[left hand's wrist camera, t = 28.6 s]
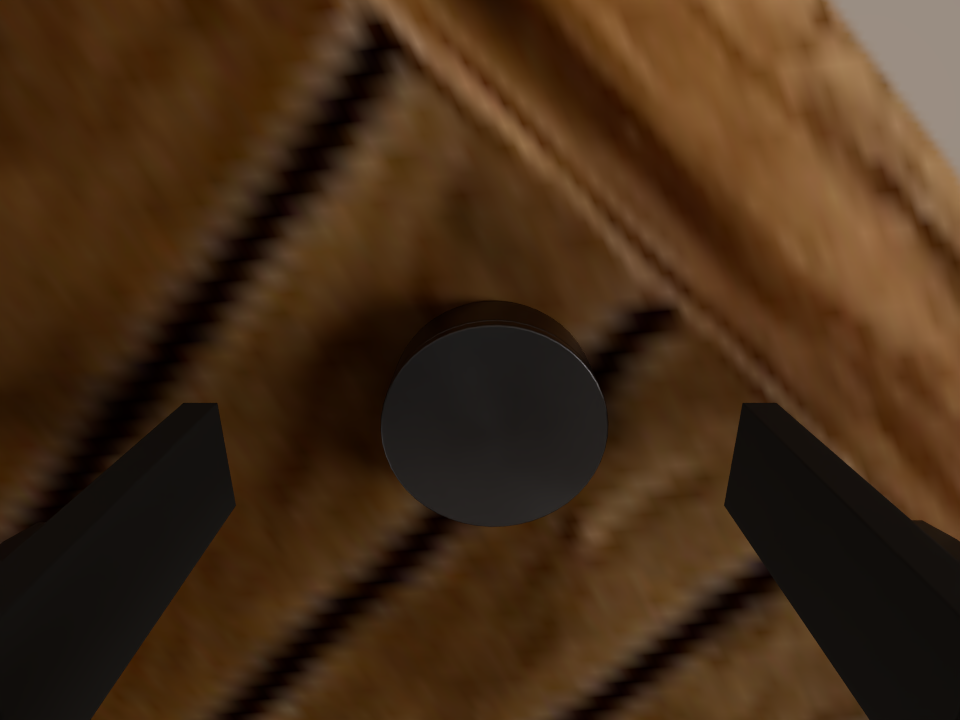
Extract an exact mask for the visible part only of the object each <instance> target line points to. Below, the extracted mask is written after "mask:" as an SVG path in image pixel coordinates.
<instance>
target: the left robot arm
mask: <svg viewBox="0 0 960 720" xmlns="http://www.w3.org/2000/svg"><path fill="white" fill-rule="evenodd" d="M235 506H236V504H235V498H234V493H233V487H232V482H231V476H230V471H229V465H228V460H227V454H226V449H225V443H224V438H223V432H222V427H221V421H220V416H219V410H218V405H217V403H183V404H182V405H181V406H180V407H178V408H177V409H176V410H175V411H174V412H173V413H171V414H170V415H169V416H168V417H167V418H166V419H165V420H163V421H162V422H161V423H160V424H159V425H158V426H157V427H155V428H154V429H153V430H152V431H151V432H150V433H148V434H147V435H146V436H145V437H144V438H143V439H142V440H140V441H139V442H138V443H137V444H136V445H135V446H133V447H132V448H131V449H130V450H129V451H128V452H127V453H125V454H124V455H123V456H122V457H121V458H120V459H119V460H117V461H116V462H115V463H114V464H113V465H112V466H110V467H109V468H108V469H107V470H106V471H105V472H104V473H102V474H101V475H100V476H99V477H98V478H97V479H95V480H94V481H93V482H92V483H91V484H90V485H89V486H87V487H86V488H85V489H84V490H83V491H82V492H81V493H79V494H78V495H77V496H76V497H75V498H74V499H72V500H71V501H70V502H69V503H68V504H67V505H66V506H64V507H63V508H62V509H61V510H60V511H59V512H57V513H56V514H55V515H54V516H53V517H52V518H51V519H49V520H48V521H47V522H38V523H36V524H35V525H33V526H31V527H29V528H27V529H26V530H24V531H22V532H20V533H18V534H16V535H15V536H13V537H11V538H9V539H7V540H6V541H4V542H3V543H1V544H0V720H90V719H91V718H92V717H93V715H94V714H95V712H96V711H97V709H98V708H99V706H100V705H101V703H102V702H103V700H104V699H105V697H106V696H107V694H108V693H109V691H110V690H111V689H112V687H113V686H114V684H115V683H116V681H117V680H118V678H119V677H120V675H121V674H122V672H123V671H124V669H125V668H126V666H127V665H128V663H129V662H130V661H131V659H132V658H133V656H134V655H135V653H136V652H137V650H138V649H139V647H140V646H141V644H142V643H143V641H144V640H145V638H146V637H147V635H148V634H149V633H150V631H151V630H152V628H153V627H154V625H155V624H156V622H157V621H158V619H159V618H160V616H161V615H162V613H163V612H164V610H165V609H166V607H167V606H168V605H169V603H170V602H171V600H172V599H173V597H174V596H175V594H176V593H177V591H178V590H179V588H180V587H181V585H182V584H183V582H184V581H185V579H186V578H187V577H188V575H189V574H190V572H191V571H192V569H193V568H194V566H195V565H196V563H197V562H198V560H199V559H200V557H201V556H202V554H203V553H204V551H205V550H206V549H207V547H208V546H209V544H210V543H211V541H212V540H213V538H214V537H215V535H216V534H217V532H218V531H219V529H220V528H221V526H222V525H223V523H224V522H225V521H226V519H227V518H228V516H229V515H230V513H231V512H232V510H233V509H234V507H235ZM724 506H725V507H726V509H727V510H728V512H729V513H730V515H731V516H732V518H733V519H734V521H735V522H736V524H737V525H738V527H739V528H740V529H741V531H742V532H743V534H744V535H745V537H746V538H747V540H748V541H749V543H750V544H751V546H752V547H753V549H754V550H755V552H756V553H757V555H758V556H759V557H760V559H761V560H762V562H763V563H764V565H765V566H766V568H767V569H768V571H769V572H770V574H771V575H772V577H773V578H774V580H775V581H776V583H777V584H778V585H779V587H780V588H781V590H782V591H783V593H784V594H785V596H786V597H787V599H788V600H789V602H790V603H791V605H792V606H793V608H794V609H795V611H796V612H797V613H798V615H799V616H800V618H801V619H802V621H803V622H804V624H805V625H806V627H807V628H808V630H809V631H810V633H811V634H812V636H813V637H814V639H815V640H816V641H817V643H818V644H819V646H820V647H821V649H822V650H823V652H824V653H825V655H826V656H827V658H828V659H829V661H830V662H831V664H832V665H833V667H834V668H835V669H836V671H837V672H838V674H839V675H840V677H841V678H842V680H843V681H844V683H845V684H846V686H847V687H848V689H849V690H850V692H851V693H852V695H853V696H854V697H855V699H856V700H857V702H858V703H859V705H860V706H861V708H862V709H863V711H864V712H865V714H866V715H867V717H868V718H869V720H960V542H959V541H958V540H957V539H955V538H953V537H951V536H950V535H948V534H946V533H944V532H942V531H941V530H939V529H937V528H935V527H933V526H931V525H930V524H928V523H926V522H924V521H922V520H910V519H909V518H908V517H907V516H906V515H905V514H904V513H902V512H901V511H900V510H899V509H898V508H897V507H896V506H894V505H893V504H892V503H891V502H890V501H889V500H887V499H886V498H885V497H884V496H883V495H882V494H881V493H879V492H878V491H877V490H876V489H875V488H874V487H872V486H871V485H870V484H869V483H868V482H867V481H866V480H864V479H863V478H862V477H861V476H860V475H859V474H858V473H856V472H855V471H854V470H853V469H852V468H851V467H849V466H848V465H847V464H846V463H845V462H844V461H843V460H841V459H840V458H839V457H838V456H837V455H836V454H835V453H833V452H832V451H831V450H830V449H829V448H828V447H826V446H825V445H824V444H823V443H822V442H821V441H820V440H818V439H817V438H816V437H815V436H814V435H813V434H811V433H810V432H809V431H808V430H807V429H806V428H805V427H803V426H802V425H801V424H800V423H799V422H798V421H797V420H795V419H794V418H793V417H792V416H791V415H790V414H788V413H787V412H786V411H785V410H784V409H783V408H782V407H780V406H779V405H778V404H777V403H743V404H742V410H741V415H740V421H739V426H738V432H737V437H736V443H735V448H734V454H733V459H732V465H731V470H730V476H729V481H728V487H727V493H726V498H725V504H724Z"/></svg>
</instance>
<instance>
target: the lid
mask: <svg viewBox="0 0 960 720" xmlns="http://www.w3.org/2000/svg"><path fill="white" fill-rule="evenodd" d="M381 436H382V444H383V447H384V451H385V455H386V457H387V460H388V462H389V464H390V467H391V469H392V470H393V472H394V474H395V475H396V477H397V479H398V480H399V481H400V483H401V484H402V485H403V486H404V488H405V489H406V490H407V491H408V492H409V493H410V494H411V495H412V496H413V497H414V498H415V499H417V500H418V501H419V502H420V503H422V504H423V505H424V506H426V507H427V508H429V509H431V510H433V511H434V512H436V513H438V514H440V515H442V516H445V517H447V518H449V519H452V520H455V521H458V522H462V523H466V524H471V525H476V526H488V527H498V526H510V525H518V524H522V523H526V522H530V521H533V520H536V519H538V518H541V517H544V516H546V515H548V514H550V513H552V512H554V511H556V510H557V509H559V508H560V507H562V506H563V505H565V504H566V503H568V502H569V501H570V500H571V499H573V498H574V497H575V496H576V495H577V494H578V493H579V492H580V491H581V490H582V489H583V488H584V487H585V486H586V485H587V483H588V482H589V480H590V479H591V477H592V476H593V475H594V473H595V471H596V469H597V467H598V465H599V463H600V462H601V459H602V456H603V453H604V450H605V447H606V441H607V436H608V415H607V407H606V403H605V400H604V396H603V393H602V391H601V389H600V386H599V384H598V382H597V380H596V377H595V375H594V373H593V371H592V369H591V367H590V365H589V363H588V360H587V358H586V356H585V354H584V352H583V351H582V349H581V347H580V346H579V344H578V342H577V341H576V340H575V339H574V338H573V336H572V335H571V334H570V333H569V332H568V331H567V330H566V329H565V328H564V327H563V326H562V325H561V324H560V323H558V322H557V321H555V320H554V319H552V318H551V317H550V316H548V315H546V314H544V313H542V312H540V311H538V310H536V309H533V308H530V307H528V306H525V305H521V304H516V303H512V302H502V301H483V302H477V303H471V304H467V305H463V306H460V307H457V308H454V309H452V310H450V311H447V312H445V313H443V314H441V315H440V316H438V317H436V318H435V319H433V320H432V321H430V322H429V323H428V324H427V325H426V326H424V327H423V328H422V329H421V330H420V331H419V332H418V333H417V334H416V335H415V336H414V337H413V338H412V340H411V341H410V343H409V344H408V346H407V347H406V348H405V350H404V352H403V354H402V356H401V358H400V360H399V363H398V365H397V368H396V371H395V373H394V376H393V379H392V381H391V384H390V386H389V389H388V392H387V395H386V398H385V401H384V404H383V409H382V415H381Z"/></svg>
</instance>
